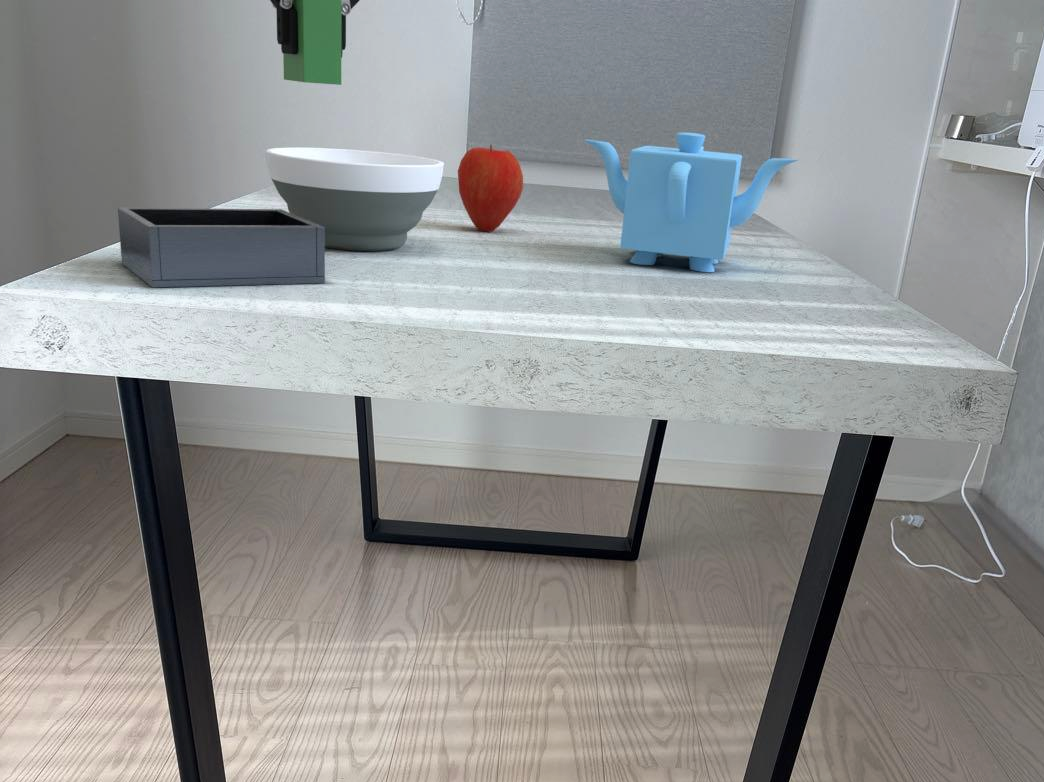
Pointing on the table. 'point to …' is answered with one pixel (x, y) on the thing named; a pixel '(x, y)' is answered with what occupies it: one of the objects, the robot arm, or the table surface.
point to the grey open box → (221, 247)
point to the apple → (489, 186)
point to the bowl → (356, 193)
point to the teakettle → (682, 199)
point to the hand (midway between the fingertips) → (311, 53)
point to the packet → (316, 43)
